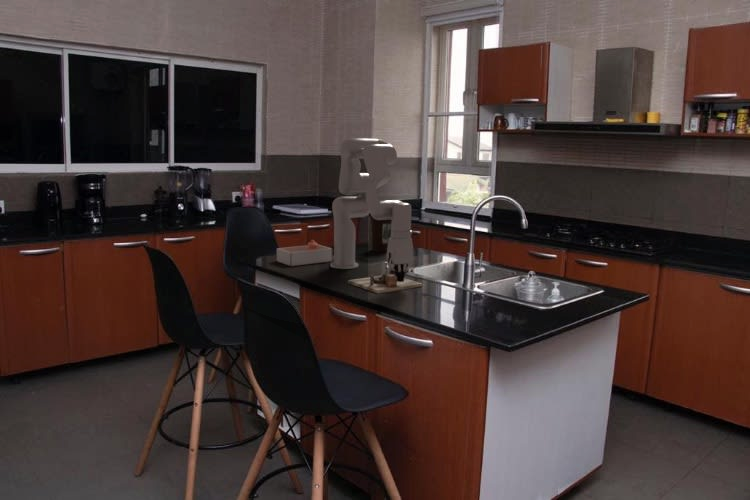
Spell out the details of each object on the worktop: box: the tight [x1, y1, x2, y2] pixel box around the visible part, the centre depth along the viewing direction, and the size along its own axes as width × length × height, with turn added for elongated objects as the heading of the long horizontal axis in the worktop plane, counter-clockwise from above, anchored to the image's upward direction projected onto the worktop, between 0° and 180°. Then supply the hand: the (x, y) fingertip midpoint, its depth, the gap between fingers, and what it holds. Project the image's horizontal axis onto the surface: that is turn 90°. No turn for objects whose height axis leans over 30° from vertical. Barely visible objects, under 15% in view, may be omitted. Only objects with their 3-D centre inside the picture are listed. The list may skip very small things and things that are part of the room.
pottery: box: [291, 239, 319, 253], centre depth 306 cm, size 18×10×10 cm, turn 127°
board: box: [347, 273, 423, 294], centre depth 264 cm, size 20×22×1 cm
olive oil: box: [371, 216, 392, 253], centre depth 337 cm, size 11×11×25 cm
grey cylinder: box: [369, 261, 390, 285], centre depth 261 cm, size 3×10×8 cm, turn 127°
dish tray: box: [276, 244, 333, 267], centre depth 308 cm, size 13×22×6 cm, turn 127°
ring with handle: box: [374, 273, 397, 287], centre depth 261 cm, size 15×9×4 cm, turn 17°
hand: (399, 281), depth 258 cm, fingers closed
